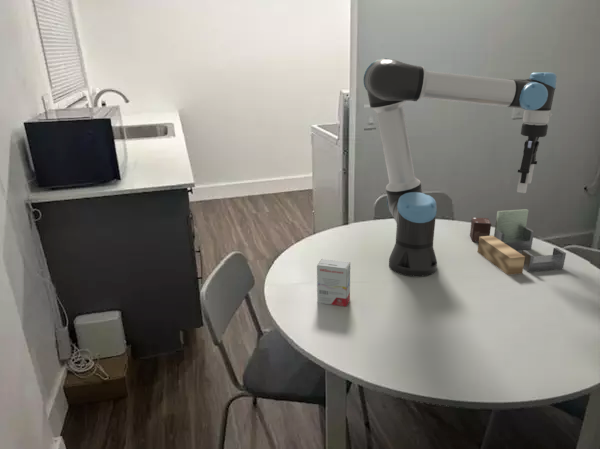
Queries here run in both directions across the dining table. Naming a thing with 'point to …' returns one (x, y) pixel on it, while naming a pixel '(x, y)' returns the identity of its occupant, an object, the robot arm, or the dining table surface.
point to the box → (479, 228)
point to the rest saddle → (544, 261)
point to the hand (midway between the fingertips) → (524, 187)
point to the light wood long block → (501, 255)
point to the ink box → (333, 282)
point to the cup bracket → (514, 229)
